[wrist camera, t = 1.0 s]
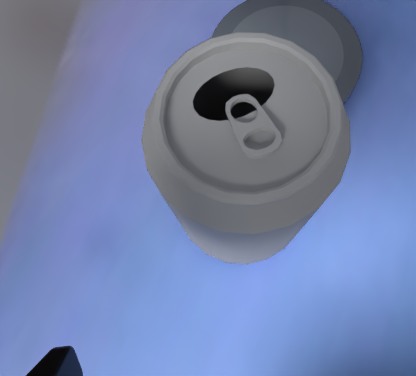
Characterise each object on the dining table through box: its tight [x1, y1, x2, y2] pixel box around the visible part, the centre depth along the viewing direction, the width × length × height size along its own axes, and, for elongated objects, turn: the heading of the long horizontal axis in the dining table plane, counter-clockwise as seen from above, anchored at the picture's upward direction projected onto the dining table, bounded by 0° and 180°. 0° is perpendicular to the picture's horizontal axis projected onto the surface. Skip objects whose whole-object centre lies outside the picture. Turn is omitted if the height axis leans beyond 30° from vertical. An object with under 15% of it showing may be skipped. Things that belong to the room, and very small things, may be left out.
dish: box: [212, 0, 362, 105], centre depth 26 cm, size 10×10×1 cm
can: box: [142, 32, 350, 264], centre depth 18 cm, size 8×8×12 cm
